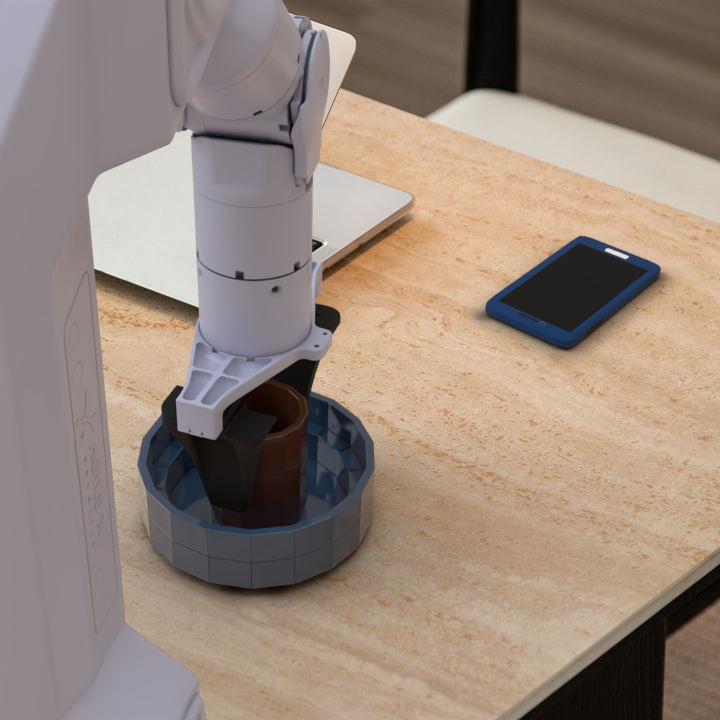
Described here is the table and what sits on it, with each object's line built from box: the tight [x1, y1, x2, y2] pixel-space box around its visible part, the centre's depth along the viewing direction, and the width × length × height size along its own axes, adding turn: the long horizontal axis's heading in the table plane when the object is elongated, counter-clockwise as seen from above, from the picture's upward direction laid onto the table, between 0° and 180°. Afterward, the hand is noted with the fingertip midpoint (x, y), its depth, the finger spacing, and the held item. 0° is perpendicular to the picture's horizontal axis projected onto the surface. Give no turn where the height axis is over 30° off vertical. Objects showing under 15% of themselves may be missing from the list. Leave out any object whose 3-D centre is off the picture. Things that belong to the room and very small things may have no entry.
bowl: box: [136, 390, 376, 590], centre depth 70 cm, size 13×13×4 cm
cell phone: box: [484, 235, 662, 349], centre depth 92 cm, size 7×14×1 cm, turn 141°
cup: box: [211, 379, 308, 529], centre depth 69 cm, size 5×6×7 cm
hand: (257, 461), depth 69 cm, fingers open, 7 cm apart
